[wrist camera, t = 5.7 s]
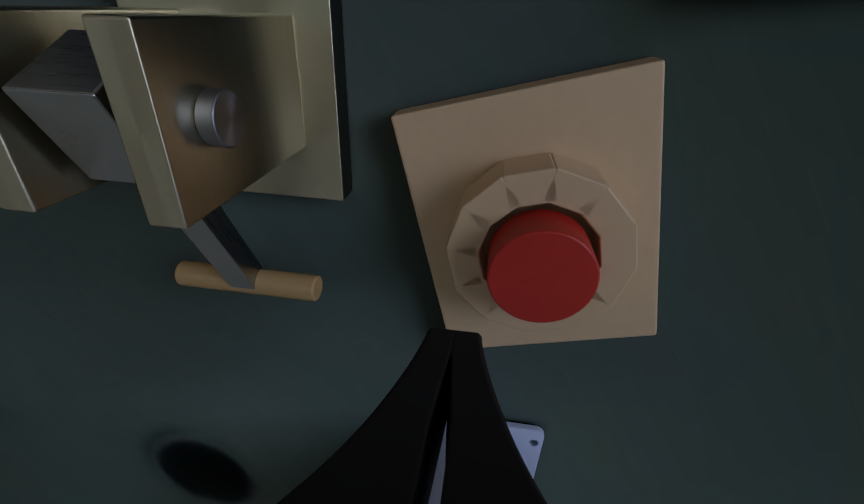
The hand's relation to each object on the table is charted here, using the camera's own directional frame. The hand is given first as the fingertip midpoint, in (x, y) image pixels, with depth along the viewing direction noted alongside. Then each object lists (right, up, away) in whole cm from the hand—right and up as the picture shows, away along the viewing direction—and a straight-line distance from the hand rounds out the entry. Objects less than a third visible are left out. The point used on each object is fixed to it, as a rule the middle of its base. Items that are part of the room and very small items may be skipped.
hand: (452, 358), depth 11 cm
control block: (+4, +4, +6) cm, 8 cm away
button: (+3, +3, +4) cm, 6 cm away
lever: (-8, +5, +3) cm, 10 cm away
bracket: (-8, +10, +5) cm, 13 cm away
